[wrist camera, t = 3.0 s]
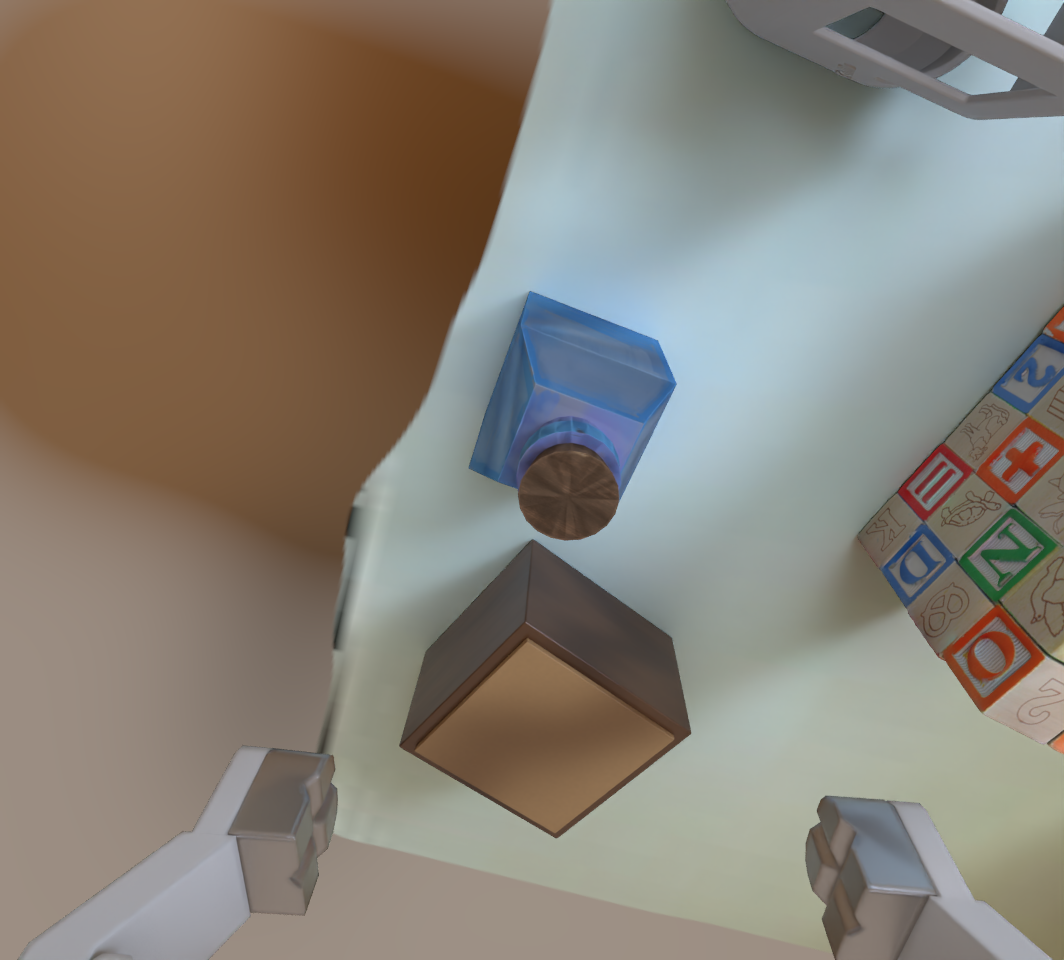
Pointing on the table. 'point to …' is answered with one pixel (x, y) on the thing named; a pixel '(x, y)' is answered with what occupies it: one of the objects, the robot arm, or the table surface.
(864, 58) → the cable organizer
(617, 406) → the perfume bottle
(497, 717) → the walnut block
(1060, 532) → the stack of blocks
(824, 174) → the table surface
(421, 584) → the table surface
